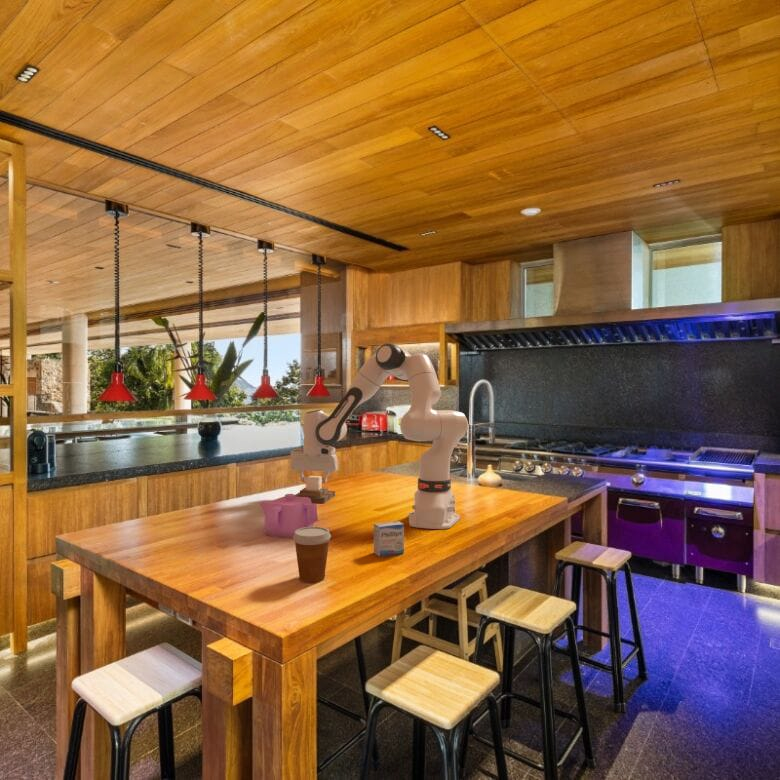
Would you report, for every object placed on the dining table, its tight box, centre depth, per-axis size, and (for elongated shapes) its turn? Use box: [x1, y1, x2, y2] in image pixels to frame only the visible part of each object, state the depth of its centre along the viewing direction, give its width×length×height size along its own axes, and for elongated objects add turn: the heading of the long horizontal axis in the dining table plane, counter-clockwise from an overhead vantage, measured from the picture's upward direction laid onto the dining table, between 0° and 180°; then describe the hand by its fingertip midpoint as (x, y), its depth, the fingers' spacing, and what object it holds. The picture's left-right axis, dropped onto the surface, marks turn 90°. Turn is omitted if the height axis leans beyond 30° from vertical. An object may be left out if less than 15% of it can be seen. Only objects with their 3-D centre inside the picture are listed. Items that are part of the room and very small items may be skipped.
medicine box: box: [373, 520, 405, 558], centre depth 154 cm, size 8×4×9 cm, turn 114°
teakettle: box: [259, 493, 319, 539], centre depth 176 cm, size 17×17×12 cm
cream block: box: [305, 475, 323, 491], centre depth 223 cm, size 5×5×5 cm
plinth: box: [294, 486, 336, 504], centre depth 223 cm, size 14×14×4 cm
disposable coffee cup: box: [292, 526, 332, 584], centre depth 135 cm, size 10×10×12 cm
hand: (313, 481), depth 223 cm, fingers open, 8 cm apart
